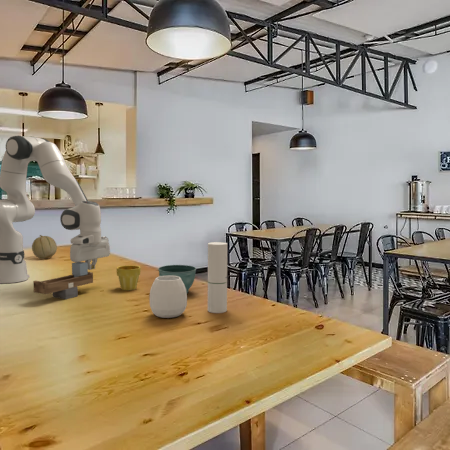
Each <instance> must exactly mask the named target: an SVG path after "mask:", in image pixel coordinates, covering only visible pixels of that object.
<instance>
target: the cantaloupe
mask: <svg viewBox="0 0 450 450" xmlns="http://www.w3.org/2000/svg"><path fill="white" fill-rule="evenodd" d="M57 247H58V245H57V242H56V241H55V239H54V238H53V237H51V236H48V235H42V234H39V236H38V237H36V238H35V239H34V240H33V242H32V243H31V250H32V253H33V255H34V256H35V257H36V258H38V259H41V260H48V259H50V258H51V257H53V256H55V254H56V253H57V251H58V250H57V249H58V248H57Z"/></svg>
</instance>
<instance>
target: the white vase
mask: <svg viewBox="0 0 450 450" xmlns="http://www.w3.org/2000/svg"><path fill="white" fill-rule="evenodd" d="M149 290H150V291H149V307H150V309H151V312H152V314H153V315H155V316H156V317H158V318H163V319H164V318H167V319H169V318H170V319H171V318H177V317H180V316H181V315H182V314H183V313H184V312H185V310H186V308H187V305H188V295H187V294H188V293H187V292H186V288H185V285H184V283H183V281H182V279H181V278H180V277H178V276H170V275H168V276H160V277H159V276H157V277H155V279H154V280H153V283H152V284H151V287H150V289H149Z"/></svg>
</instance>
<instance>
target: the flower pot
mask: <svg viewBox="0 0 450 450" xmlns="http://www.w3.org/2000/svg"><path fill="white" fill-rule="evenodd" d="M157 270H158V275H159V276H158V277H160V276H168V275H170V276H178V277H180V278H181V279H182V281H183V283H184V285H185V288H186V292H187V294H188V293H189V290H190V289H191V287H192V285H193V284H194V282H195V277H196V272H197V267H196V266H194V265H187V264H186V265H185V264H170V265H163V266H160V267H158V268H157Z"/></svg>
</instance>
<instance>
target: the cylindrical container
mask: <svg viewBox="0 0 450 450" xmlns="http://www.w3.org/2000/svg"><path fill="white" fill-rule="evenodd" d="M227 311H228V242H222V241H221V242H220V241H215V242H214V241H213V242H211V241H210V242H208V243H207V312H209V313H212V314H223V313H226V312H227Z"/></svg>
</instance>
